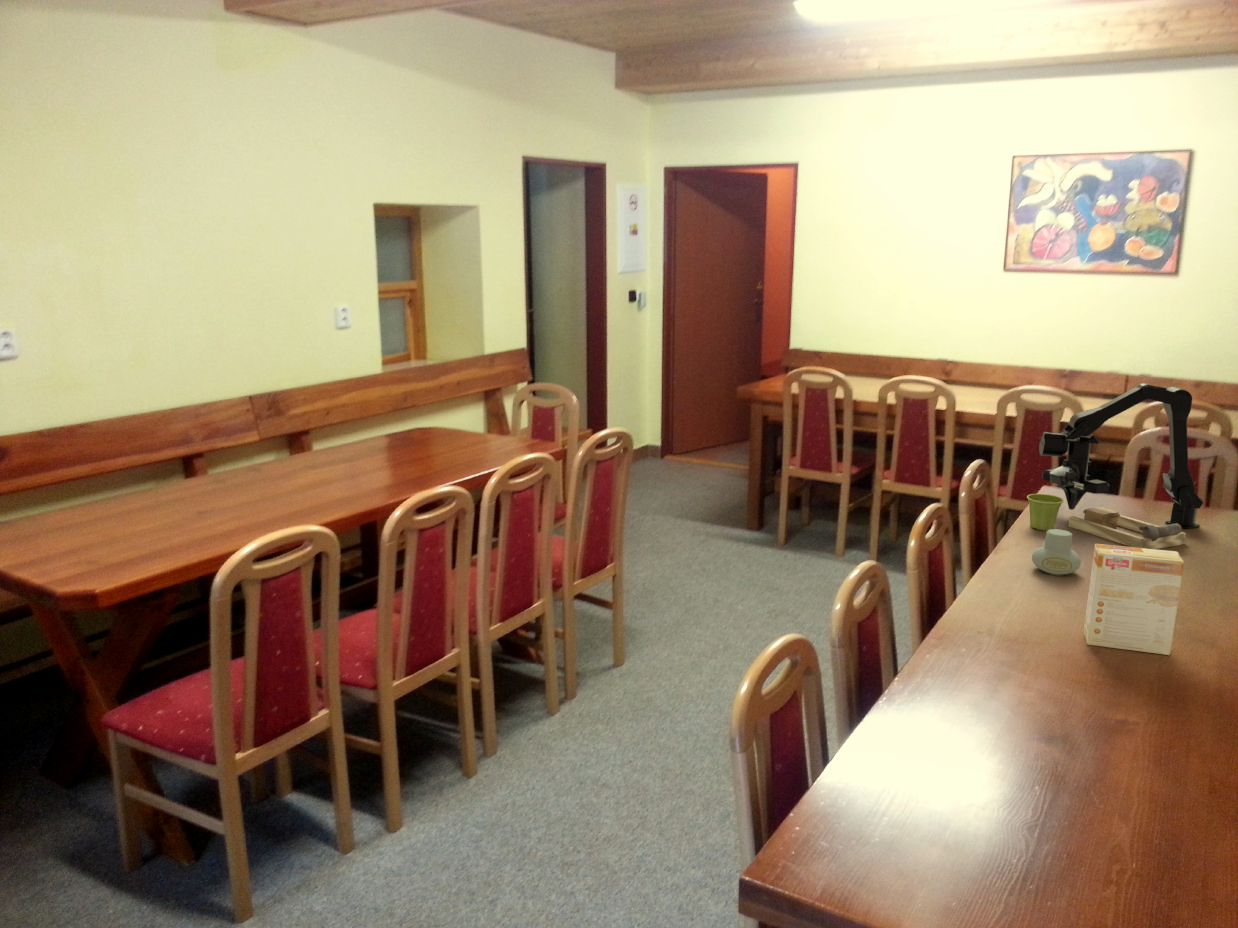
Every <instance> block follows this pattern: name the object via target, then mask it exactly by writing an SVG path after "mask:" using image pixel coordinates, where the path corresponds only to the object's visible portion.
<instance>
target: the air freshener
mask: <svg viewBox="0 0 1238 928" xmlns="http://www.w3.org/2000/svg"><path fill="white" fill-rule="evenodd" d="M1044 538H1045V539H1044V545H1043V546H1040V547H1038V548H1036V549H1035V550H1034V551H1033V552H1032V554H1031V561H1032V563H1033V564H1034V566H1035V567H1036V568H1038V569H1039V570H1040V571H1042V572H1044V573H1047V574H1048V575H1049V574H1050V575H1051V576H1064V575H1065V576H1066V575H1069V574H1072V573H1075V572H1077V570H1079V569H1080V567H1081V564H1082V561H1081V557H1080V556H1079V554H1078V553H1077V552H1076V551H1074V550H1073V549H1072V544H1073V543H1072V542H1073V534H1072V532H1071V531H1069V530H1064V529H1059V528H1058V529H1057V528H1053V529H1050V530H1048V531H1045V537H1044Z"/></svg>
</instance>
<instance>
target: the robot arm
mask: <svg viewBox="0 0 1238 928" xmlns="http://www.w3.org/2000/svg"><path fill="white" fill-rule="evenodd" d="M1146 400H1151V401H1155V402H1159V403H1162V404H1163V409H1164V411H1165V414H1166V416H1167V420H1168V434H1169V439H1168V440H1169V461H1170V463H1169V464H1170V465H1169V467H1170V468H1169V469H1168V470H1169V471H1168V473H1162V478H1163V484H1162V487H1163V488H1164V489H1165V491H1166V494H1167V493H1168V495H1169V496H1170V498H1171V500H1172V501H1174V502H1173V504H1172V507H1171V508H1172V509H1171V514H1170V519H1169V520H1165V521H1164V523H1165V524H1166V525H1170V524H1176V523H1177V524H1179V525H1181V527H1182V529H1185V530H1186V529H1187V530H1188V529H1194V528H1199V527H1201V524H1198V523H1196V519H1197V512H1198V509H1199V510H1200V509H1201V507H1202V505H1203V504H1204V502H1203V500H1202V499H1201V498H1200V497H1199V496H1198V495H1197V493H1196V488H1195V484H1194V480H1193V477H1192V474H1191V471H1190V469H1189V452H1188V451H1189V448H1188V447H1189V446H1188V444H1189V443H1188V423H1187V422H1188V418H1189V415H1190V413H1191V411H1192V406H1193V405H1192V402H1193V395H1192V394H1191V392H1190V391H1188V390H1186V389H1183V388H1181V387H1179V386H1170V387H1168V388H1167V387H1164V386H1163V387H1162V386H1159V385H1153V384H1149V383H1146V382H1143V383H1139V384H1138V385H1137V386H1135V387H1134V388H1132V389H1130V390H1128V391H1126V392H1124V393H1122V394H1121V395H1119V396H1117V397H1115V398H1113V399H1111V400H1109V401H1108V402H1106V403H1103V404H1102V405H1100V406H1097V407H1094V408H1090V409H1086V410H1083V411H1079V412H1078V413H1074V414H1073V415H1072V416H1071V417H1070V419H1069V423H1068V424H1067V425H1066V426H1065V427H1064V428H1063V429H1062V430H1061V431H1060V433H1059V432H1058V433H1057V432H1056V433H1055V432H1047V431H1043V432H1042V436H1041V439H1040V441H1039V447H1038V449H1039V451H1038V452H1039V455H1040V456H1044V457H1060V458H1061V457H1063V456H1064V455H1066V459H1063V461H1062V462H1061V463H1062V464H1061V466H1058V467H1056V468H1052V469H1045V470H1044V472H1043V473H1042V479H1041V480H1044V481H1047V482H1050V483H1051V484H1056V485H1057V486H1058V487H1059V488H1061V489H1062V491H1063V492H1064V495H1065V498H1066V502H1067V506H1068V510H1071V511H1072V510H1075V508H1076V506H1077V505H1078V504H1079V502H1080V501H1081V499H1082V498H1083V497H1084V496H1085V495H1086V494H1087V493H1091V494H1093V495H1095V494H1097V495H1098V494H1103V493H1109V491H1110V484H1109V483H1108V482H1107V481H1104V480H1100V479H1091V480H1090V477H1091V476H1090V475H1089V474H1088V468H1089V467H1088V466H1092V461H1090V453H1091V452H1090V451H1091V445H1093V444H1096V445H1097V444H1098V445H1099V443H1100V442H1099V441H1100V440H1097V438H1096V437H1095V435H1094V434H1093V433H1094V432H1096V431H1097V430H1098V429H1100V428H1101V427H1102V426H1103V425H1104V424H1105V423H1106V422H1107V421H1108V420H1110V419H1112V418H1114V417H1115V416H1117V415H1120V414H1122V413H1123V412H1125V411H1127V410H1130V409H1131V408H1132V407H1135V406H1136V405H1139V404H1141V403H1142V402H1145V401H1146Z"/></svg>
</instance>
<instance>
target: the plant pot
mask: <svg viewBox="0 0 1238 928" xmlns="http://www.w3.org/2000/svg"><path fill="white" fill-rule="evenodd" d="M1026 498H1027V500H1028V505H1029V506H1028V507H1029V526H1030V527H1031V528H1032V529H1036V530H1038V531H1045V532H1047V531H1048V530H1050V529H1055V524H1056V521H1057V517H1058V514H1059V510H1060V508H1061V506H1062V504H1063V503H1064V500H1065V499H1063V498H1062V497H1060V496H1056V495H1052V494H1046V493H1031V494H1028V495H1027V496H1026Z"/></svg>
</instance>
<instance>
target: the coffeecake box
mask: <svg viewBox="0 0 1238 928" xmlns="http://www.w3.org/2000/svg"><path fill="white" fill-rule="evenodd" d="M1184 564H1185V561H1184V560H1183V558H1182V557H1181V556H1180V553H1179V552H1178V551H1175V550H1166V549H1145V548H1135V547H1131V546H1126V545H1125V546H1123V545H1112V544H1103V543H1102V544H1101V543H1094V549H1093V557H1092V565H1091V571H1090V580H1089V586H1088V587H1089V588H1088V595H1087V602H1086V609H1085V610H1086V611H1085V617H1084V627H1083V634H1084V637H1085V642H1086V645H1087V646H1094V647H1095V646H1096V647H1103V648H1110V649H1111V648H1112V649H1119V650H1120V649H1121V650H1126V651H1127V650H1128V651H1132V652H1133V651H1135V652H1142V653H1148V654H1149V653H1151V654H1156V655H1157V654H1158V655H1164V656H1170V655H1171V651H1172V646H1173V640H1174V639H1173V638H1174V630H1175V624H1176V618H1177V611H1178V606H1179V598H1180V597H1179V596H1180V591H1181V585H1182V584H1181V583H1182V579H1183V571H1184V566H1185V565H1184Z"/></svg>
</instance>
